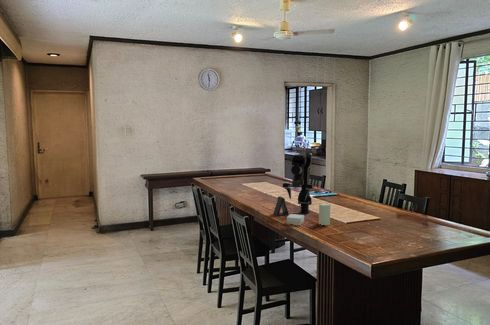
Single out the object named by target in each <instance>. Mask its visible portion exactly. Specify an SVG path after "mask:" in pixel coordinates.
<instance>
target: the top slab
mask: <svg viewBox="0 0 490 325" xmlns="http://www.w3.org/2000/svg"><path fill="white" fill-rule="evenodd" d="M303 220H304V221H305V215H304V214H295V213H294V214H293V213H292V214H291V213H290V214H289V215H287V216H286V221H290V222H302V221H303Z"/></svg>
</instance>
